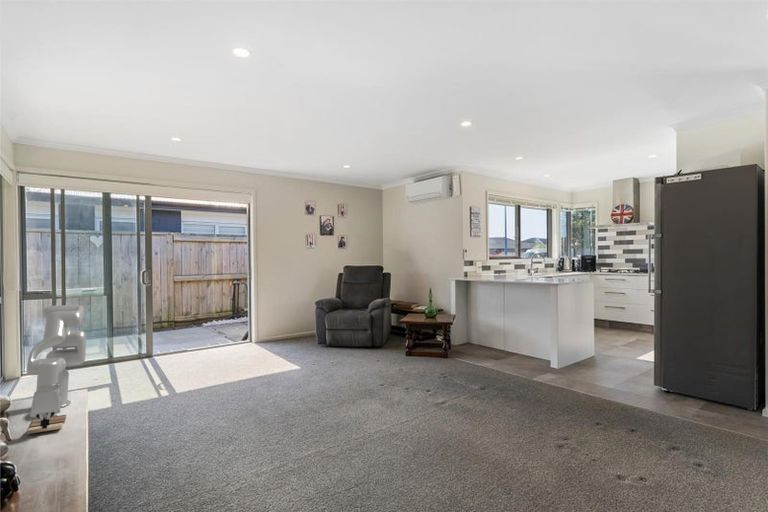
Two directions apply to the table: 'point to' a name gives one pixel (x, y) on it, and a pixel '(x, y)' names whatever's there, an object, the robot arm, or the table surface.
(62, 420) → the walnut board
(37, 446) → the table surface
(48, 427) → the oak plank
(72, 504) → the table surface
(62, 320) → the robot arm
